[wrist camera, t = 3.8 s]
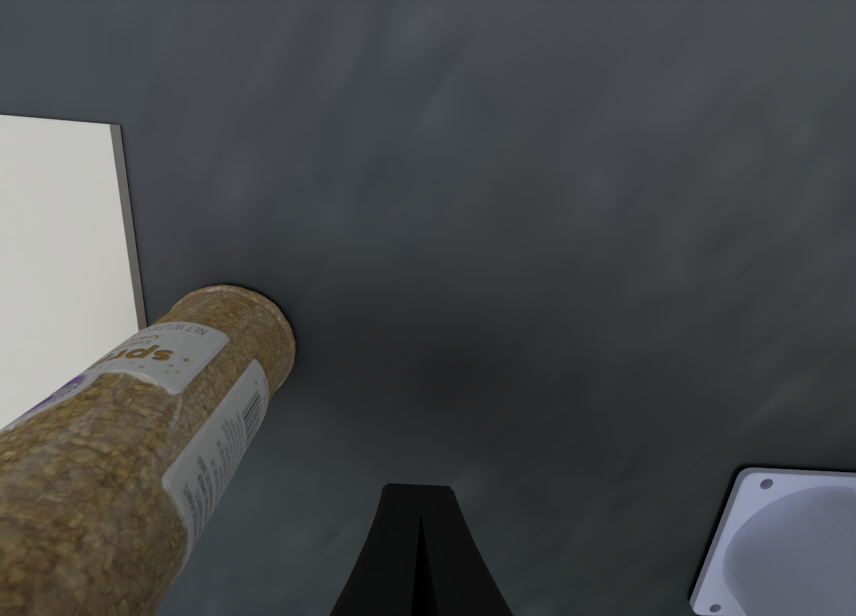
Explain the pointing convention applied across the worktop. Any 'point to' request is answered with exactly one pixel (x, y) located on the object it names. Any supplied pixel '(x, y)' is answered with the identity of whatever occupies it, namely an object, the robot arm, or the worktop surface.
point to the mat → (62, 255)
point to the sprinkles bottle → (135, 457)
